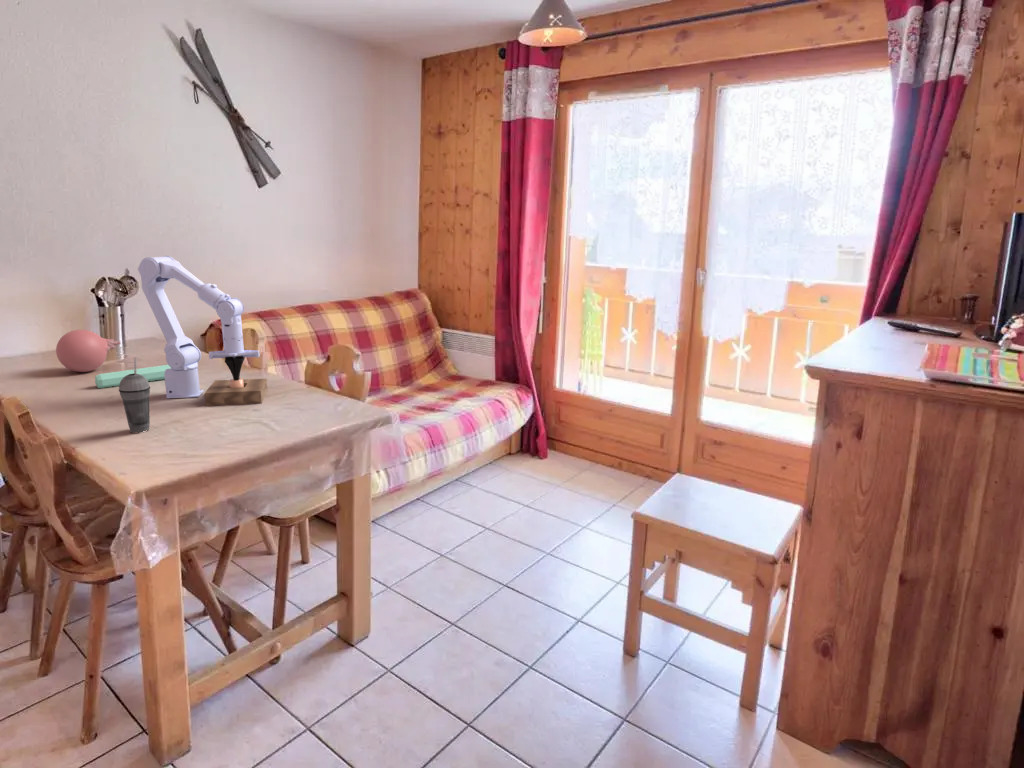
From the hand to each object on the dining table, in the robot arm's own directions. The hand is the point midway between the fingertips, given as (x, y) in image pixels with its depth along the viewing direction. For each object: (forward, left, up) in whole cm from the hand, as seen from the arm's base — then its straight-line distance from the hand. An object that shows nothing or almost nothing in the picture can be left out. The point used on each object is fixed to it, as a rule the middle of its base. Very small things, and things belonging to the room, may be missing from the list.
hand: (236, 380), depth 203 cm
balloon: (-57, +47, -6) cm, 74 cm away
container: (-36, +26, -6) cm, 45 cm away
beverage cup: (-20, -30, -6) cm, 37 cm away
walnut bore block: (0, 0, -6) cm, 6 cm away
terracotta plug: (0, 0, -6) cm, 6 cm away
